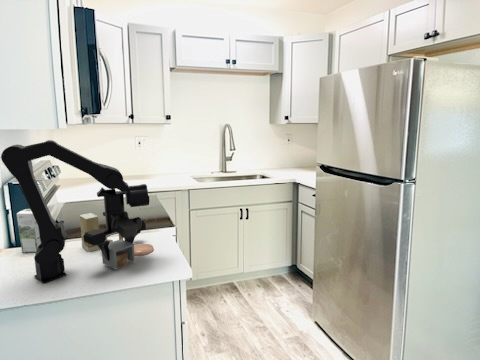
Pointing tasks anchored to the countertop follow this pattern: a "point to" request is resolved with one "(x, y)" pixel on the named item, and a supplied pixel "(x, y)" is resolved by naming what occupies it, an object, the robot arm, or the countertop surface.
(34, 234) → the syrup box
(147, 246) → the dish
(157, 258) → the countertop surface
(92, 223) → the skincare box
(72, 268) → the countertop surface
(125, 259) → the walnut block
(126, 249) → the cover
